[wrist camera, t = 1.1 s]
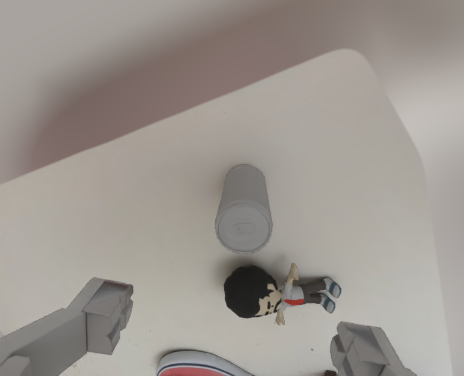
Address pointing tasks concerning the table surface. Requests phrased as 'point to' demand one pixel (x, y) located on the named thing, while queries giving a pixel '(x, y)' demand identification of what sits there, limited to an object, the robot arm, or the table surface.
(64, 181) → the table surface
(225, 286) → the figurine
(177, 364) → the boot
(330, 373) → the miniature wooden chair
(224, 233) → the beverage can
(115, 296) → the robot arm
